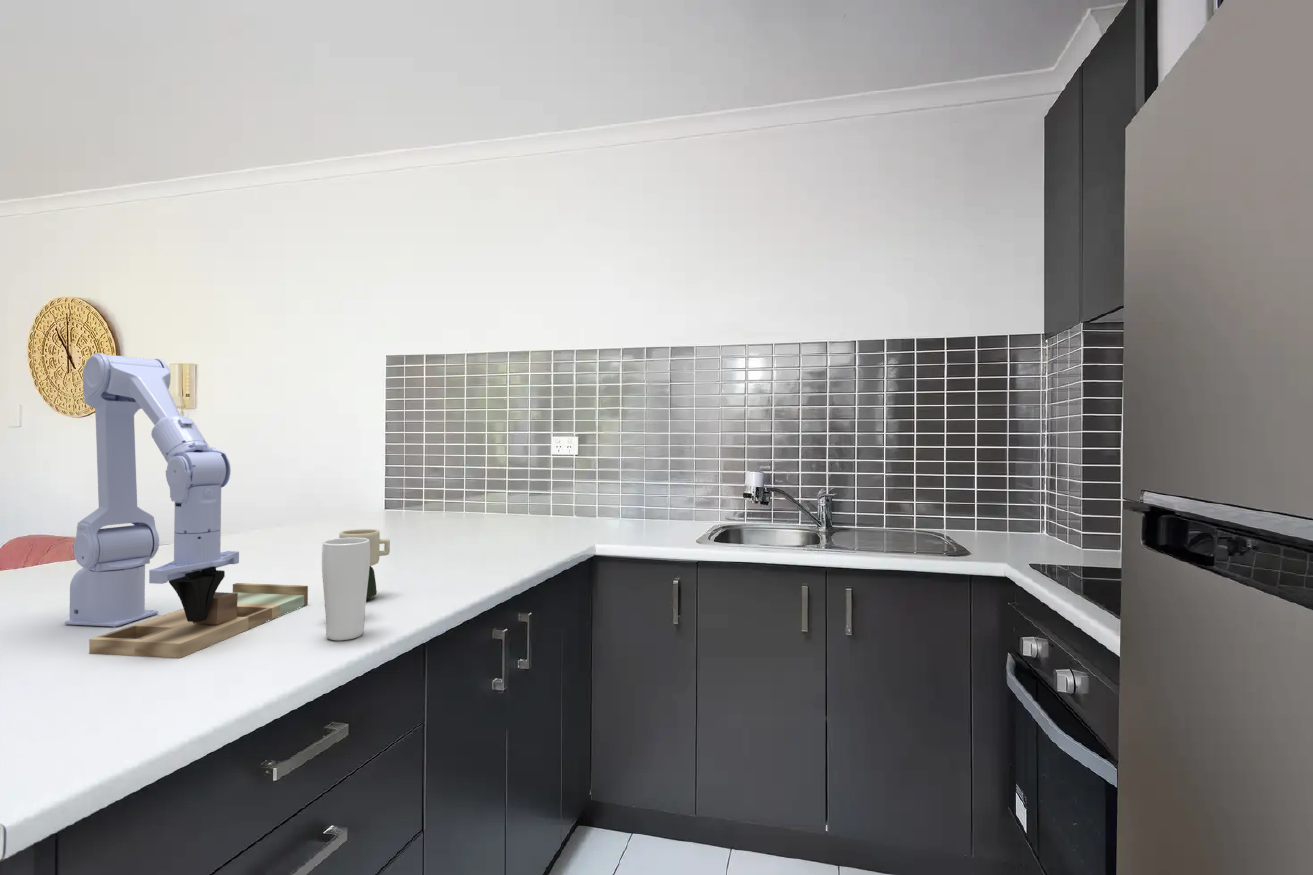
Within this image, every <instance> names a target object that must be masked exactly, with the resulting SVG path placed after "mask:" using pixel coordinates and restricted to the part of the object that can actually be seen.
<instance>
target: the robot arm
mask: <svg viewBox="0 0 1313 875" xmlns="http://www.w3.org/2000/svg"><path fill="white" fill-rule="evenodd" d="M171 378H172V377H171V371H170V368H169V366H168V365H167V363H166V361H165V360H163V359H160V358H144V357H143V358H142V357H133V356H125V355H124V356H123V355H112V354H104V353H101V352H96V353H93V354H92V355H91V356H90V357H89V358H88V359H87V360H86V363H85V364H84V366H83V369H82V389H83V390H82V391H83V393H82V394H83V397H84V400H83V401H84V404H85V405H87V406H89V407H90V408H93V409H94V413H95V436H96V437H95V438H96V440H95V441H96V464H97V465H96V467H97V468H96V469H97V495H98V496H97V497H98V498H97V499H98V508H97V509H95V510H94V511H93V512H91V513H90V514H88V515H86V516H85V517H84V518H82V519H81V520H80V521H78V522H77V525H76V536H75V539H74V542H73V555H74V559H75V561H76V562H77V564H78V565H79V566H81V567H82V568H80V569H79V570H78V571H77V572H76V573H75V574H74V575H73V576H72V578H71V581H70V584H69V619H68V620H64V622H63V623H64V625H72V626H73V625H76V626H77V625H78V626H97V627H99V626H101V627H120V626H122V625H125V624H128V623H132V622H135V621H138V620H141V619H144V618H147V617H150V616H154V615H157V614H158V613H159V610H155V609H146V608H145V607H146V606H145V604H146V602H145V601H146V598H145V596H146V565H148V564H151V559H153V558H154V557H155V556H156V554H157V553H158V551H159V548H160V537H159V533H158V530H157V527H156V521H155V517H154V516H153V515H152V514H151V513H149V512H147V511H146V510H143V509H142V508H140V507H138V493H137V492H138V490H137V489H138V488H137V487H138V486H137V461H136V458H137V457H136V436H135V435H136V434H135V432H136V431H135V414H136V413H137V412H138V411H139V410H142V411H143V412H144V414H146V416H147V418H149V420H150V421H151V423H152V424H153V425H154V426H153V427H152V430H151V438H152V439H153V442H155V444H156V446H157V448H158V450H159V451H160V453H161V455H162V456H163V458H164V460H165V461H166V463H167V466H166V469H165V477H166V482H167V485H168V487H169V498H170V501H171V502H174V522H173V524H174V527H173V530H174V531H173V532H174V533H173V535H174V536H173V537H174V538H173V561H170V562H168V563H165V564H163V565H161V566H158V567H155V568H151V569H149V576H148V577H149V578H148V579H149V580H148V584H159V585H162V584H163V585H164V584H166V583H169V585H170V586H171V587H172V589H173V590H174V592H176V594H177V596H178V598H179V600H180V602H181V605H182V609H184V611H185V615H186V618H187V621H188V622H201V621H204V620H206V618H207V615H208V611H209V608H210V605H211V602H212V599H213V596H214V594H215V592H217V589H218V588H219V586H220V585H221V583H222V581H223V580H224V578H225V577H226V574H225V570H221V569H220V570H219V569H218V568H221V567H225V566H228V565H237V564H239V563H240V551H239V550H237V551H236V550H235V551H234V550H227V551H222V552H221V542H222V541H221V539H222V538H221V536H222V535H221V534H222V530H221V529H222V528H221V527H222V522H221V521H222V518H221V517H222V488H224V487H226V486H227V485H228V483H229V480H230V478H231V463H230V460H229V458H228V456H227V454H226V452H224V451H222V450H219V449H216V447H213V446H210V445H209V443H207V441H206V439H205V438H204V436H203V434H202V433H201V431H200V430H199V428H198V426H197V425H196V423H195V422H194V420H193V419H192V418H190V417H188V416H183V415H181V414H180V411H179V410H178V407H177V405H176V403H175V401H174V398H173V397H172V395H171V392H170V390H169V389H170V385H171ZM124 524H126V525H125V526H123V525H124ZM127 524H132V525H127ZM115 525H122V526H117V527H114V526H115ZM107 526H113V527H107ZM104 527H105V528H104Z"/></svg>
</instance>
